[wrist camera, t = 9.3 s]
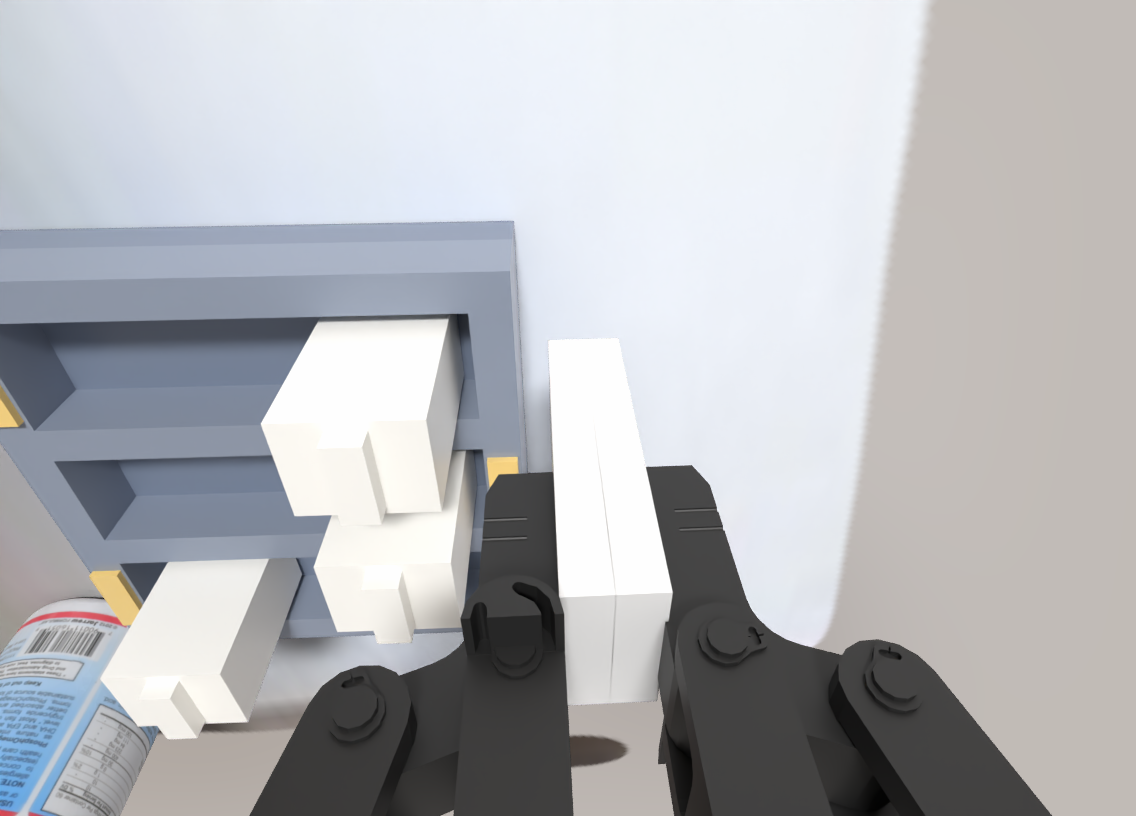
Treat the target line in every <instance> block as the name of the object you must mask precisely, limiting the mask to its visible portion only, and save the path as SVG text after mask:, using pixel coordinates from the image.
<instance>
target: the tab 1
mask: <svg viewBox="0 0 1136 816" xmlns="http://www.w3.org/2000/svg"><path fill="white" fill-rule="evenodd" d="M301 576H302V573H301V571H300V568H299V565H298V563H297V560H296V558H273V559H243V560H213V561H184V562H168V563H167V565H166V567H165V568H164V570H163V572H162V573H161V575H160V577H159V578H158V580H157V582H156V584H155V585H154V587H153V589H152V590H151V592H150V594H149V596H148V597H147V599H146V601H145V602H144V604H143V606H142V608H141V609H140V611H139V613H138V614H137V616H136V618H135V620H134V621H133V623H132V625H131V626H130V628H129V630H128V632H127V633H126V635H125V637H124V638H123V640H122V642H121V644H120V645H119V647H118V649H117V650H116V652H115V654H114V656H113V657H112V659H111V661H110V662H109V664H108V666H107V668H106V669H105V671H104V673H103V674H102V676H101V678H100V680H101V681H102V682H103V683H104V684H105V686H106V687H107V688H108V689H109V691H110V692H111V693H112V694H113V696H114V697H115V698H116V699H117V701H118V702H119V703H120V704H121V706H122V707H123V708H124V709H125V711H126V712H127V713H128V714H129V716H130V717H131V718H132V719H133V721H134V722H135V723H136V724H137V726H138V727H139V726H158V728H159V729H160V730H161V732H162V733H163V734H164V735H165V737H166V738H167V739H193V738H198V737H199V734H200V732H201V730H202V727H203V725H204V724H211V723H236V722H248V721H249V718H250V716H251V713H252V710H253V707H254V705H255V702H256V699H257V696H258V694H259V691H260V688H261V685H262V683H263V680H264V677H265V674H266V672H267V669H268V666H269V664H270V661H271V658H272V655H273V653H274V650H275V647H276V644H277V642H278V639H279V636H280V633H281V631H282V628H283V625H284V622H285V620H286V617H287V614H288V611H289V609H290V606H291V603H292V600H293V598H294V595H295V592H296V589H297V587H298V584H299V581H300V578H301Z"/></svg>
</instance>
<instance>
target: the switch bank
mask: <svg viewBox="0 0 1136 816" xmlns="http://www.w3.org/2000/svg"><path fill="white" fill-rule="evenodd" d="M422 314H457V320H458V328H459V336H460V345H461V353H462V361H463V370H464V378H463V384H462V391H461V397H460V403H459V409H458V415H457V421H456V428H455V434H454V440H453V446H452V450H471V449H473V452H474V461H475V469H476V477H477V489H476V499H475V508H474V518H473V527H472V536H471V546H470V555H469V565H468V574H467V583H466V593H465V602H464V606H465V603H466V601H467V600H468V599H469V598H470V596H471V595H472V594H473V593H474V592H475V591H476V589H477V588H478V585H479V572H480V559H481V547H482V534H483V523H484V509H485V496H486V494H487V492H488V490H489V489H490V487H491V486H492V484H493V482H494V481H495V479H496V478H497V476H498V475H499V474H521V473H528V469H527V451H526V433H525V415H524V397H523V379H522V361H521V343H520V325H519V307H518V289H517V271H516V253H515V235H514V221H488V222H433V223H378V224H322V225H267V226H212V227H157V228H102V229H47V230H0V443H1V445H2V446H3V448H4V449H5V450H6V452H7V453H8V455H9V456H10V458H11V459H12V461H13V462H14V463H15V465H16V466H17V468H18V469H19V471H20V472H21V473H22V475H23V476H24V478H25V479H26V481H27V482H28V484H29V485H30V486H31V488H32V489H33V491H34V492H35V494H36V495H37V497H38V498H39V499H40V501H41V502H42V504H43V505H44V507H45V508H46V510H47V511H48V512H49V514H50V515H51V517H52V518H53V520H54V521H55V523H56V524H57V525H58V527H59V528H60V530H61V531H62V533H63V534H64V536H65V537H66V538H67V540H68V541H69V543H70V544H71V546H72V547H73V549H74V550H75V551H76V553H77V554H78V556H79V557H80V559H81V560H82V562H83V563H84V564H85V566H86V567H87V569H88V570H89V572H90V573H91V575H90V576H89V577H90V579H91V580H92V582H93V583H94V585H95V586H96V587H97V589H98V590H99V592H100V593H101V595H102V596H103V597H104V599H105V600H106V602H107V603H108V605H109V606H110V607H111V609H112V610H113V612H114V613H115V615H116V616H117V617H118V619H119V620H120V622H121V623H122V625H123V626H126V625H127V626H128V628H130V626H131V625H132V623H133V621H134V620H135V618H136V616H137V614H138V613H139V611H140V609H141V608H142V606H143V604H144V602H145V601H146V599H147V597H148V596H149V594H150V592H151V590H152V589H153V587H154V585H155V584H156V582H157V580H158V578H159V577H160V575H161V573H162V572H163V570H164V568H165V567H166V565H167V563H168V562H184V561H213V560H243V559H273V558H296V560H297V563H298V565H299V568H300V571H301V573H302V576H301V578H300V581H299V584H298V587H297V589H296V592H295V595H294V598H293V600H292V603H291V606H290V609H289V611H288V614H287V617H286V620H285V622H284V625H283V628H282V631H281V633H280V636H279V639H286V638H313V637H339V636H366V635H375V634H374V631H355V632H337V630H336V627H335V624H334V622H333V619H332V616H331V613H330V611H329V608H328V605H327V603H326V600H325V597H324V594H323V592H322V589H321V586H320V584H319V581H318V578H317V575H316V573H315V570H314V565H315V562H316V559H317V556H318V553H319V550H320V547H321V545H322V542H323V539H324V536H325V533H326V530H327V527H328V525H329V522H330V519H331V516H332V515H321V516H294V513H293V510H292V508H291V505H290V502H289V500H288V497H287V494H286V491H285V489H284V486H283V483H282V481H281V478H280V475H279V472H278V470H277V467H276V464H275V462H274V459H273V456H272V453H271V451H270V448H269V445H268V443H267V440H266V437H265V434H264V432H263V429H262V426H261V423H262V421H263V419H264V417H265V415H266V414H267V412H268V410H269V408H270V407H271V405H272V403H273V401H274V399H275V398H276V396H277V394H278V392H279V390H280V389H281V387H282V385H283V383H284V382H285V380H286V378H287V376H288V374H289V373H290V371H291V369H292V367H293V365H294V364H295V362H296V360H297V358H298V356H299V355H300V353H301V351H302V349H303V348H304V346H305V344H306V342H307V340H308V339H309V337H310V335H311V333H312V331H313V330H314V328H315V326H316V324H317V322H318V321H319V319H320V317H333V316H377V315H422ZM446 632H463V631H462V628H435V629H414V634H420V633H446Z"/></svg>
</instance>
